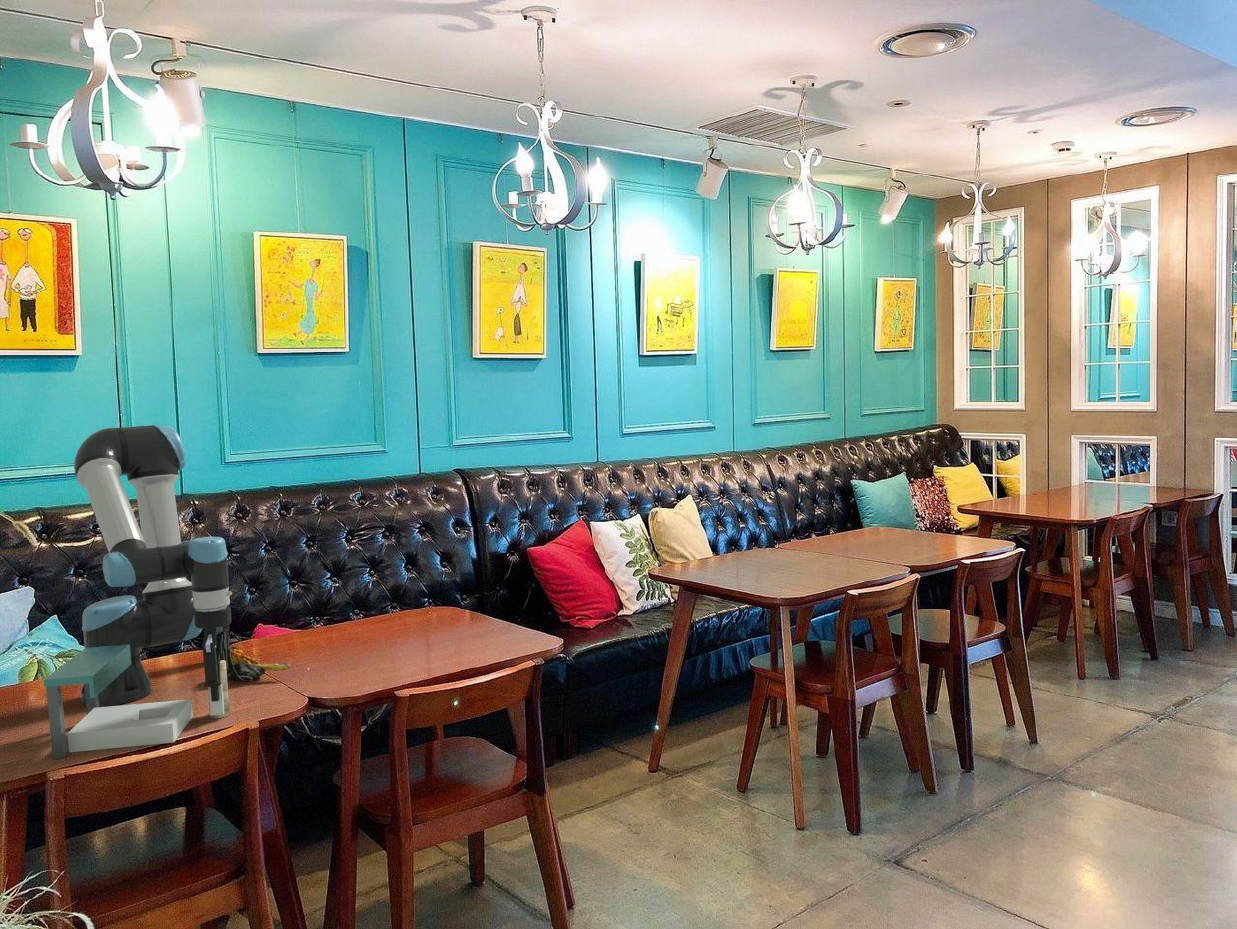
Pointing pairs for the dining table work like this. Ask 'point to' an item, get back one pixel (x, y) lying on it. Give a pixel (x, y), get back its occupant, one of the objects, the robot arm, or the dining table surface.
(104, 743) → the socket block
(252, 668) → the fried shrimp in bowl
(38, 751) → the dining table surface
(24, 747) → the dining table surface
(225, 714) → the wooden peg
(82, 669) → the teal miniature table
